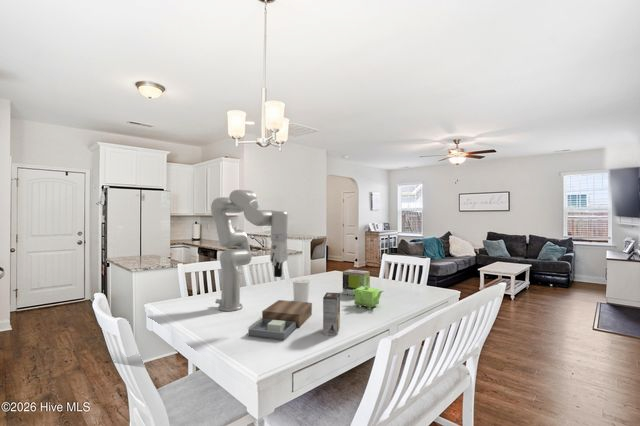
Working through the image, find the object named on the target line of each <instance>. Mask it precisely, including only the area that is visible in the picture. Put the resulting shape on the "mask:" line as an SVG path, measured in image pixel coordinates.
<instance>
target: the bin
mask: <svg viewBox="0 0 640 426" xmlns="http://www.w3.org/2000/svg"><path fill="white" fill-rule="evenodd" d="M271 321H272V320H271V319H262V318H261V319H260V320H259V321H258V322H256V323H255V324H253V325H252V326H250V327H249V328H248V333H247V334H248V336H247V337H251V338H259V339H269V340H274V341H275V340H276V341H285V340H287V338H289V336H290V335H291V334H293V332H294V331H295V330H297V328H296V322H290V321H286V324H285V329H284V330H282V331H281V332H276V331H267V324H268V323H269V322H271Z"/></svg>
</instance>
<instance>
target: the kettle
mask: <svg viewBox="0 0 640 426" xmlns="http://www.w3.org/2000/svg"><path fill="white" fill-rule="evenodd" d="M351 292H352V293H353V294H354V295H355V296H354V295H353V296H354V305H358V306H362V307H366V309H367V308H373V306H374V307H376V306H378V305H379V304H380V302H379V301H380V298H381V294H382V293H383V292H385V291H384V290H380V289H379V288H377V287H376V288H375V287H371V286H370V287H369V286H365V287H363V286H362V287H359V288H357V289H355V290H354V289H353V290H352V291H351Z"/></svg>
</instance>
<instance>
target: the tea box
mask: <svg viewBox="0 0 640 426" xmlns="http://www.w3.org/2000/svg"><path fill="white" fill-rule="evenodd" d="M370 275H371V274H370V271H369V270H368V271H367V270H358V269H346V270H342V295H347V294H348V296H354V294H353V293H352V292H351V291H352V290H353V289H354V290H355V289H357V288H359V287H362V286H363V287H365V286H369V287H370V288H371V286H370V285H371V276H370Z"/></svg>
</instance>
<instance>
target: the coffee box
mask: <svg viewBox="0 0 640 426" xmlns="http://www.w3.org/2000/svg"><path fill="white" fill-rule="evenodd" d="M322 298H323V299H322V301H323V302H322V335H325V336H327V335H328V336H336V335H337V336H338V334H339V331H340V328H341V326H340V325H341V322H340V321H341V293H340V292H326V293H325V294H324V295H323V297H322Z"/></svg>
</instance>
